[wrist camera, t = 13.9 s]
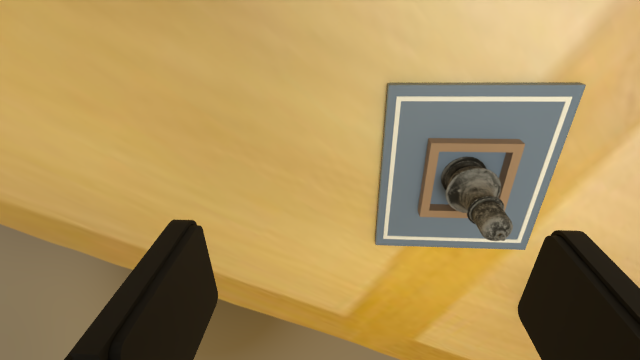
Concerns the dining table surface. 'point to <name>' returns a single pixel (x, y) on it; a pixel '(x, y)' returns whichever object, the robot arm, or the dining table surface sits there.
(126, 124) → the dining table surface
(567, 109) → the board
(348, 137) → the dining table surface
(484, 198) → the dark grey chess piece
